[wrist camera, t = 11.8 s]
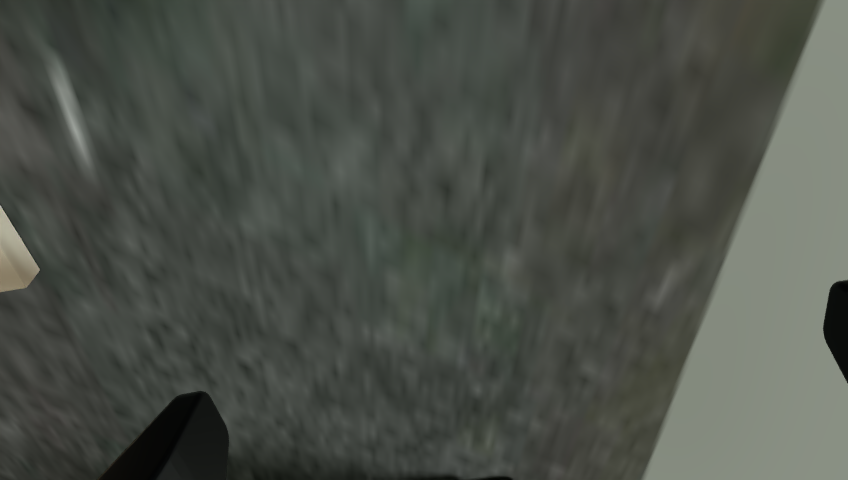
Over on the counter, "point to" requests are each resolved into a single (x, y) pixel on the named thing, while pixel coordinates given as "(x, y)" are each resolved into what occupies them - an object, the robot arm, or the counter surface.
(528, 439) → the counter surface
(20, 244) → the pink and beige box
